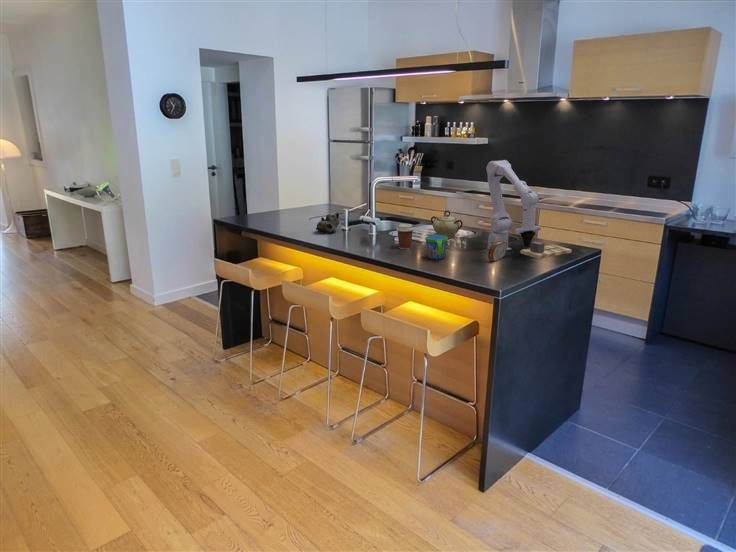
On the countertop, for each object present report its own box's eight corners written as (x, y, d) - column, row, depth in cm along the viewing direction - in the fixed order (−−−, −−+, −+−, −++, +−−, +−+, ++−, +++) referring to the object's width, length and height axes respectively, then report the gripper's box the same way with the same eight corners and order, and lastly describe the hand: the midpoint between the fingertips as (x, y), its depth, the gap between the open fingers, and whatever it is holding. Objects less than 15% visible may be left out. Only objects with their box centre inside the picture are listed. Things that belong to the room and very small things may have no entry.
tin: (501, 255, 246) (502, 238, 244) (507, 256, 244) (508, 239, 242) (486, 262, 235) (487, 244, 233) (493, 263, 233) (494, 245, 231)
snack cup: (423, 253, 252) (423, 233, 249) (444, 253, 252) (445, 233, 249) (426, 262, 237) (427, 241, 234) (449, 262, 237) (450, 240, 234)
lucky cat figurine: (315, 230, 309) (323, 208, 309) (333, 237, 310) (341, 216, 310) (315, 228, 294) (324, 205, 294) (334, 235, 295) (343, 213, 295)
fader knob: (537, 252, 243) (538, 244, 242) (529, 250, 248) (530, 242, 246) (544, 251, 245) (544, 243, 244) (536, 249, 249) (536, 241, 248)
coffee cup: (415, 246, 267) (415, 223, 263) (412, 250, 258) (412, 227, 255) (398, 245, 269) (398, 223, 265) (394, 249, 261) (394, 226, 257)
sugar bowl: (467, 236, 286) (469, 209, 282) (455, 241, 275) (456, 214, 270) (437, 232, 298) (437, 206, 293) (424, 237, 286) (424, 210, 282)
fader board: (538, 258, 240) (538, 255, 239) (520, 253, 250) (520, 249, 249) (571, 252, 249) (571, 249, 249) (552, 247, 259) (553, 244, 259)
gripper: (523, 221, 232) (521, 250, 236) (546, 218, 238) (544, 246, 242) (512, 218, 238) (510, 247, 242) (535, 215, 244) (533, 243, 248)
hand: (526, 246), depth 242 cm, fingers closed
